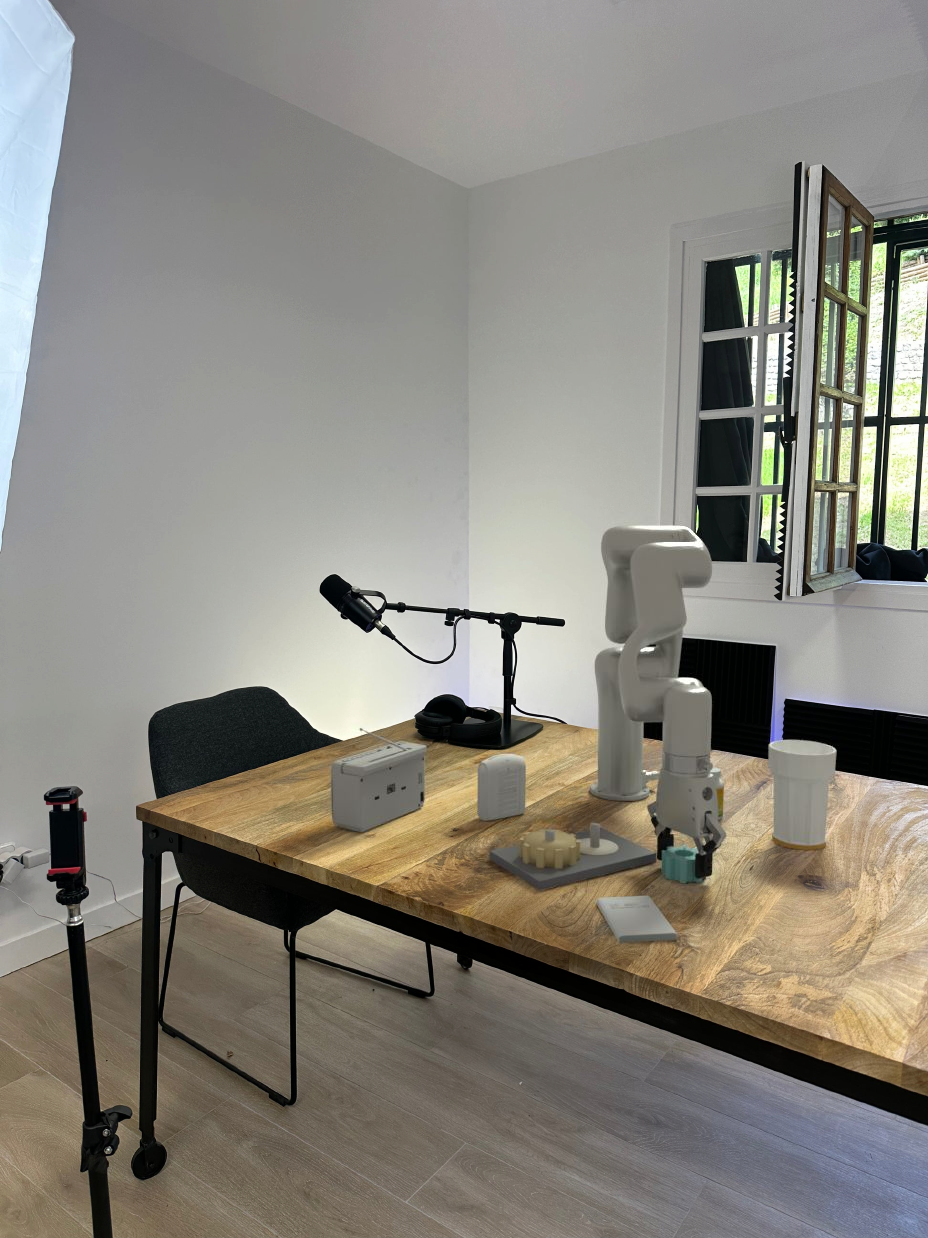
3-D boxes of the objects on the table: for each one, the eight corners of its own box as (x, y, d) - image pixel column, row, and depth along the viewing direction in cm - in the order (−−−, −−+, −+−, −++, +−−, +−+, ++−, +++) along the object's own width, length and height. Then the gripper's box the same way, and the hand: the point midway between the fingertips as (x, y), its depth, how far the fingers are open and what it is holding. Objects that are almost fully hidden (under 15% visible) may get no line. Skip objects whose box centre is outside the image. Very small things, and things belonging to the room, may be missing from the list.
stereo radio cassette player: (399, 800, 179) (398, 707, 177) (430, 807, 174) (430, 711, 172) (329, 828, 162) (327, 725, 160) (361, 837, 157) (360, 730, 155)
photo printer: (515, 808, 173) (516, 749, 172) (528, 814, 170) (529, 753, 168) (474, 817, 168) (474, 756, 166) (486, 823, 164) (486, 760, 163)
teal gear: (684, 863, 144) (684, 842, 143) (715, 877, 138) (715, 856, 137) (652, 871, 140) (653, 850, 140) (683, 886, 134) (683, 864, 134)
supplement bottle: (689, 814, 169) (690, 767, 168) (711, 811, 171) (713, 764, 170) (705, 822, 164) (707, 774, 163) (728, 819, 166) (730, 771, 165)
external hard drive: (618, 947, 116) (596, 907, 128) (677, 944, 116) (649, 905, 129) (618, 935, 116) (596, 897, 128) (677, 932, 116) (649, 894, 129)
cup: (752, 835, 157) (755, 743, 155) (799, 827, 161) (802, 737, 160) (798, 856, 147) (802, 757, 145) (847, 847, 151) (851, 751, 149)
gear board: (600, 835, 157) (600, 803, 157) (656, 861, 144) (656, 827, 144) (489, 859, 146) (489, 825, 145) (539, 890, 133) (539, 853, 132)
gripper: (744, 772, 131) (741, 881, 133) (665, 748, 146) (664, 846, 148) (709, 778, 128) (706, 891, 129) (632, 753, 143) (630, 854, 144)
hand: (683, 867), depth 139 cm, fingers open, 8 cm apart
